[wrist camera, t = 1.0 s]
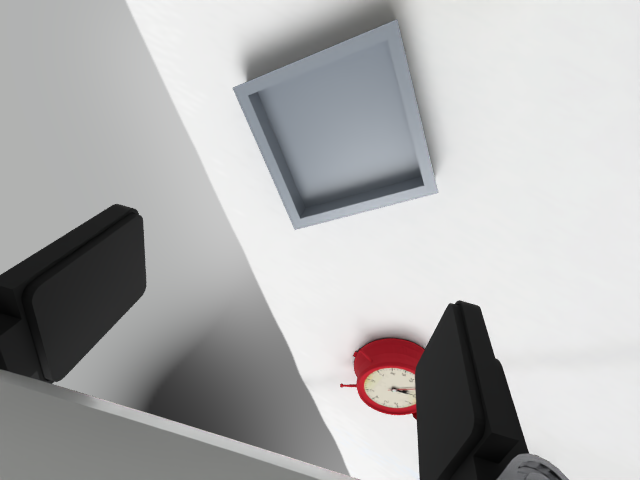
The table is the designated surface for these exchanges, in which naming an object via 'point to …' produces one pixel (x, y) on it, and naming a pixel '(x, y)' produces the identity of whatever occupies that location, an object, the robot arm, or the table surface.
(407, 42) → the table surface
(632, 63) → the table surface
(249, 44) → the table surface
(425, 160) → the tray
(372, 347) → the alarm clock
